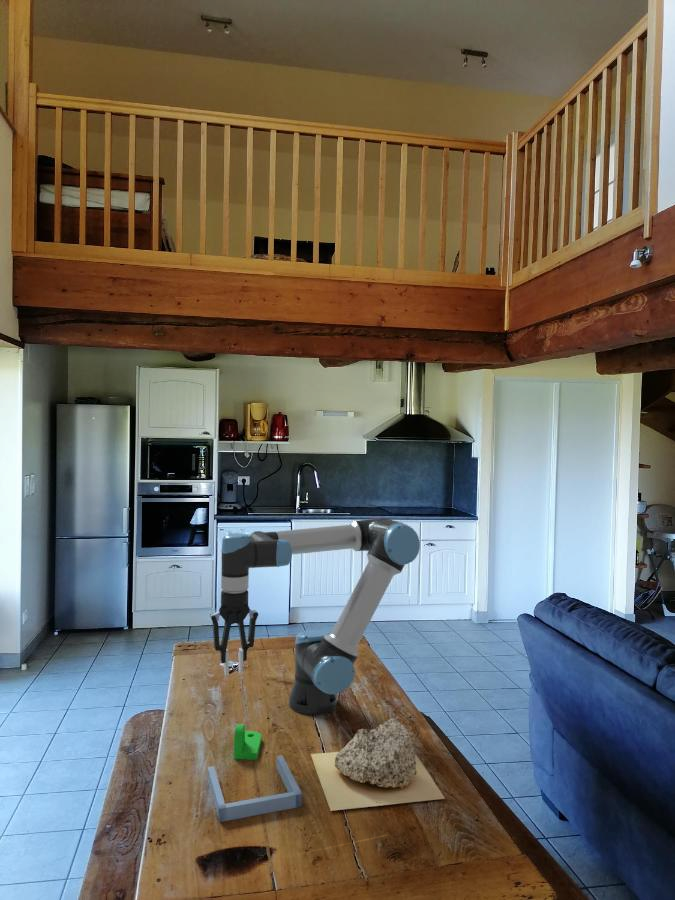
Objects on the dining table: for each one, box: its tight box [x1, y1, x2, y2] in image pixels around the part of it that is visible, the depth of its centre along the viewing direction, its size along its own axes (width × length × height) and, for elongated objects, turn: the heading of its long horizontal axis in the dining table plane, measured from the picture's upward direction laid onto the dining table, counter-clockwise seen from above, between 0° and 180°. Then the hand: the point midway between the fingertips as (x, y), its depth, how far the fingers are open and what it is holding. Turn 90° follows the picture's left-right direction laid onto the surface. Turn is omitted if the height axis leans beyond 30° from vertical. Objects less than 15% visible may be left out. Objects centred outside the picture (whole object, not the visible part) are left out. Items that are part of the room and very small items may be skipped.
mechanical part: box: [233, 723, 262, 761], centre depth 171 cm, size 12×6×8 cm, turn 0°
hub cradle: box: [207, 755, 303, 823], centre depth 151 cm, size 19×18×3 cm
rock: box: [310, 718, 446, 812], centre depth 157 cm, size 28×22×16 cm
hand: (233, 672), depth 176 cm, fingers open, 3 cm apart
